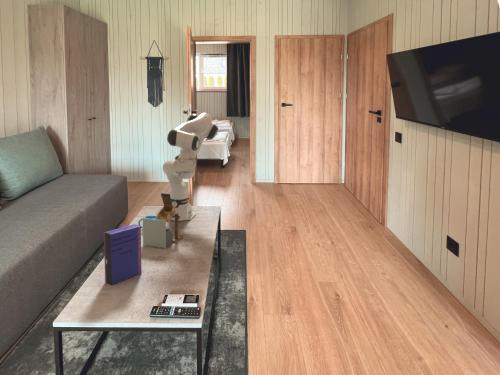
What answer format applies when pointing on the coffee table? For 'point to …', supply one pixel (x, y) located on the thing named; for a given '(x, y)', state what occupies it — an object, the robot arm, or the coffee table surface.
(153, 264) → the coffee table surface
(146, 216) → the mug
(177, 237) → the stand
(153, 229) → the bin
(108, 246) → the cereal box
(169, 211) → the chute
